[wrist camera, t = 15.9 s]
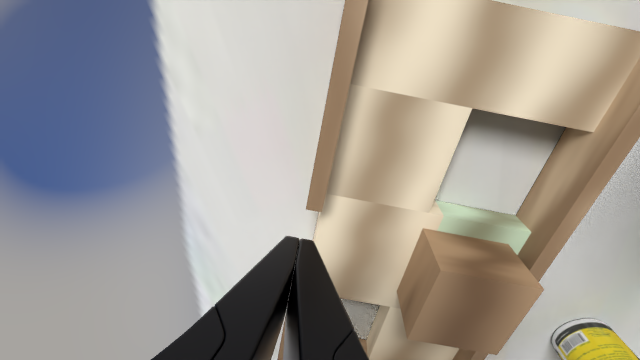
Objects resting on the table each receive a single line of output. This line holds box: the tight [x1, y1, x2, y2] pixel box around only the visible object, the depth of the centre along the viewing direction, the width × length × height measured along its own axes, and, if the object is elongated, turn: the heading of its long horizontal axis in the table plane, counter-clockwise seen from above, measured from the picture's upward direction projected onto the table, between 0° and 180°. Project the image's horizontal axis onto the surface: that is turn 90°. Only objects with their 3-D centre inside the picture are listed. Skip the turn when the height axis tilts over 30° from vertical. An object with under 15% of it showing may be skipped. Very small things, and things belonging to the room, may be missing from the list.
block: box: [397, 228, 544, 355], centre depth 20 cm, size 6×6×4 cm
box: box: [277, 0, 640, 360], centre depth 21 cm, size 16×29×4 cm, turn 170°
